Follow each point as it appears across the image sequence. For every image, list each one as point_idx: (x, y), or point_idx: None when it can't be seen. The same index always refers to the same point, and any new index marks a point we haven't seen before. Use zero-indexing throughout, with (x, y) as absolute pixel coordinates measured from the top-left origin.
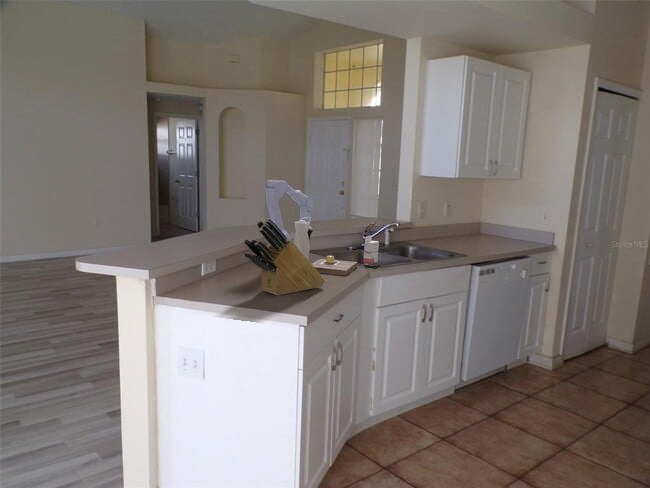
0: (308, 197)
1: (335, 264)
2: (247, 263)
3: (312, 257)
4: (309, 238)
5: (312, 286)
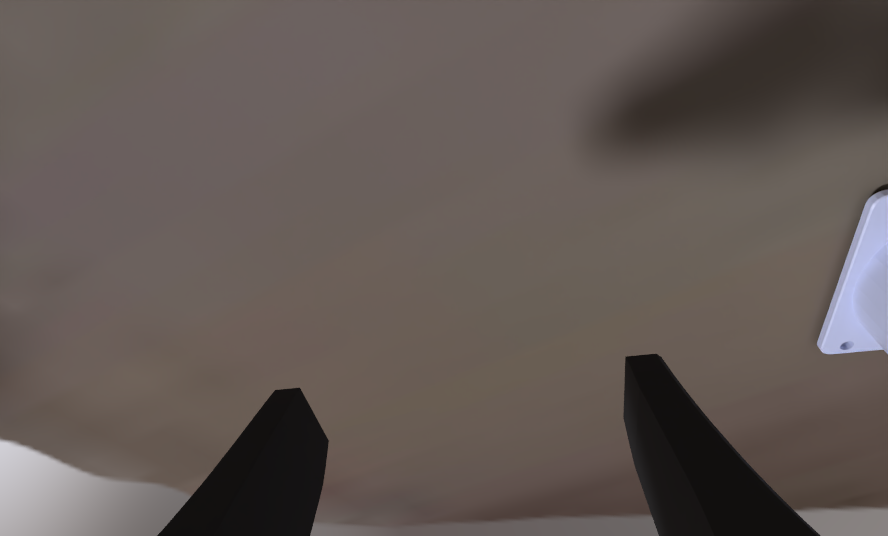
0: None
1: None
2: (855, 499)
3: (151, 225)
4: (217, 488)
5: None
